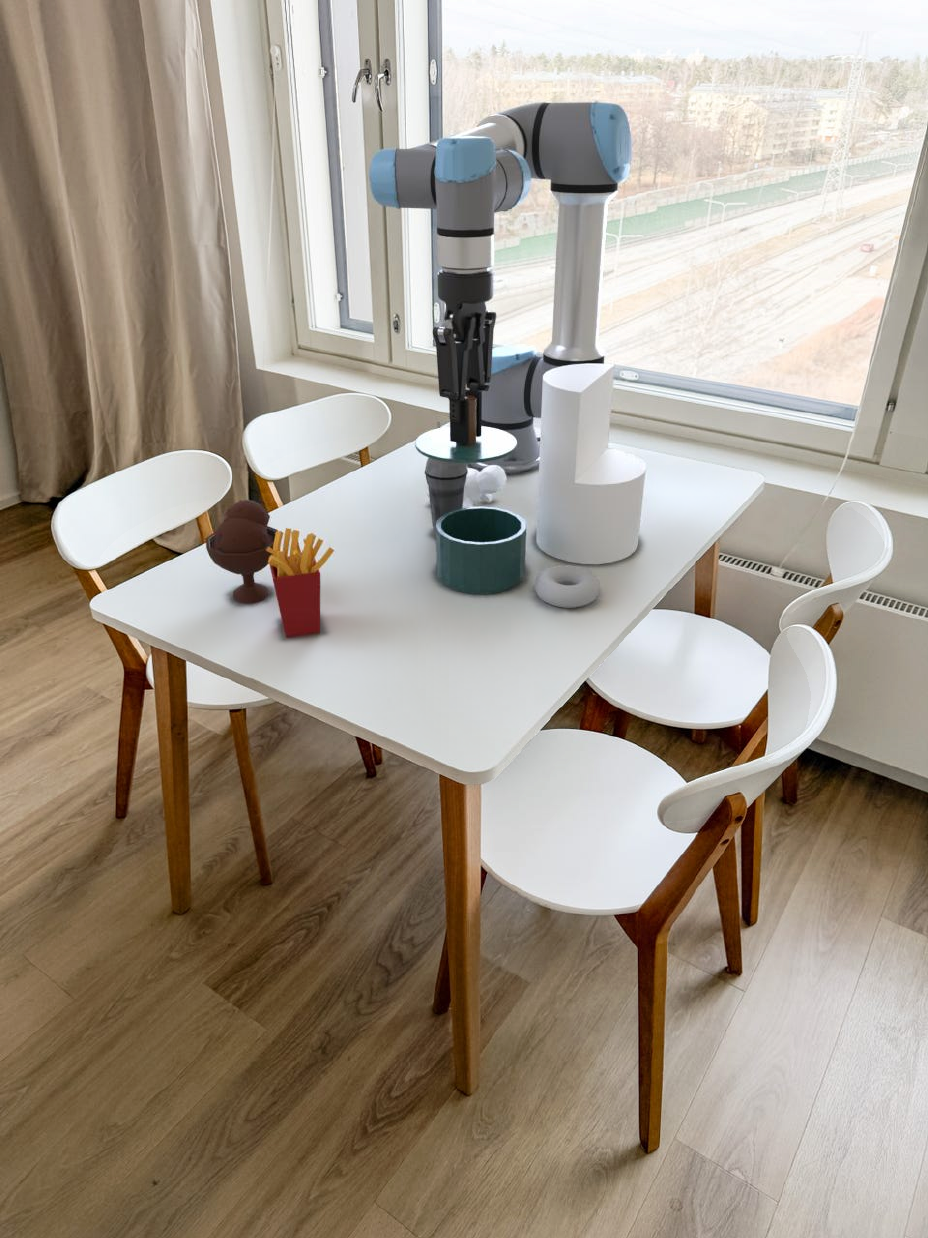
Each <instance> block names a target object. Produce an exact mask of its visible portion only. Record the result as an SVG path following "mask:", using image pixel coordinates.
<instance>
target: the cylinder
mask: <svg viewBox="0 0 928 1238" xmlns="http://www.w3.org/2000/svg"><path fill="white" fill-rule="evenodd" d="M615 366H616V365H615V364H613V363H611V364H610V363H609V364H573V365H567V366H561V367H557V368H553V369H551V370H549V371H547V372H546V373H545V374H544V375H543V386H542V411H541V418H540V442H539V448H540V459H539V466H538V485H537V487H538V489H537V507H536V509H537V511H536V535H535V536H536V539H535V541H536V545H537V546H538V547H539V549H540V550H541V551H542V552H544V553H545V554H547V555H548V556H550V557H552V558H555V559H557V560H561V561H564V562H568V563H574V564H581V565H600V564H601V565H602V564H603V565H604V564H610V563H615V562H618V561H623V560H624V559H626V558H628V557H631V556H632V554H634V553H635V552H636V551H637V548H638V544H639V537H640V535H639V534H640V528H641V527H640V525H641V517H642V507H643V499H644V498H643V497H644V491H645V489H644V488H645V480H646V470H647V466H646V464H645V462H644V461H643V460H642V459H641V458H639V457H638V456H636V455H633V454H632V453H629V452H627V451H623V450H621V449H614V448H609V441H610V427H611V416H612V405H613V402H612V401H613V390H614V377H615Z"/></svg>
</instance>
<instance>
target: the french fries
mask: <svg viewBox="0 0 928 1238" xmlns="http://www.w3.org/2000/svg"><path fill="white" fill-rule="evenodd" d="M283 537H284V538H283ZM299 538H300V530H297V529H292V528H288V527H286V528H285V530H284V532H283V531H282V530H278V531H276V535H275V539H274V545H273V549H271V548H270V547H268V548H267V550H266V551H268V552H270V553H272V554H273V555H271V556H270V557H269V560H268V565H269V570H270V573H271V577H272V583H273V586H274V587H273V588H274V591H275V595H276V601H277V605H278V609H279V613H280V617H281V622H282V626H283V631H284V635H285V638H293V637H299V636H306V635H313V634H320V633H321V571H320V569H321V567H322V566H324V564H326V563H327V561H328V559H329V558H330V557H331V556H332V554H333V553H334V552H335V550H334V549H333V548H331V546H330V547H328V549H327V550H326V551H325V553H324V554H323V555H322V556H321V557H320V559H318V560H316V556H317V554H318V552H319V550H320V549H321V546H322V544H323V542H324V540H323V539H321V538H318V539H317V540H316V538H317V535H316V534H314V533H313V532H311V533H309V534H307V535H306V538H304V539H302V540H303V544H304V546H303V548H302V549H303V550H301V547H300V543H299ZM282 541H283V544H282ZM281 547H282V550H281Z"/></svg>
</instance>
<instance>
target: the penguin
mask: <svg viewBox="0 0 928 1238" xmlns="http://www.w3.org/2000/svg"><path fill="white" fill-rule="evenodd" d="M467 470H468V473H467V476H466V482H465V485H464V496H463V508H466V507H475V504H474V502H476V501H477V500H479V499H481V500H482V501H483V502H485V503H491V502H492V501H493V496H492V494H496V493H499V492H500V491H501V490H502V489H503V488H504V487H505V485H506V483H507V474H505V472H504V470H503V469H502V468H501V467H500V466H497V465H490V466H488V467H486V468H484V469H483V470H482V471H481V470H478V469H475V468H471V467H467ZM426 495H427V496H428V500H429V502H430V497H429V490H428V491H427V492H426Z"/></svg>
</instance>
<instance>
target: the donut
mask: <svg viewBox="0 0 928 1238" xmlns="http://www.w3.org/2000/svg"><path fill="white" fill-rule="evenodd" d="M533 587H534V591H535V593H536V595H537V596H538V597H539V599H541V600H542V601H543V602H545V603H546V604H549V605H551V606H555V607H558V608H567V609H570V608H571V609H572V608H580V607H584V606H586V605H590V604H591V603H592V602H594V601H595V600H596V599H597V597H599V595H600V593H601V592H600V590H601V582H600V581H599V579H598V577H597V576H596V575H595V574H594V573H593V572H592V571H590V570H588V569H587V568H584V567H581V566H577V565H569V564H562V565H561V564H560V565H555V566H554V565H553V566H550V567H547V568H545V569H543V570H541V572H539V573H538V574H537V576H536V577H535V580H534V585H533Z"/></svg>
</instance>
